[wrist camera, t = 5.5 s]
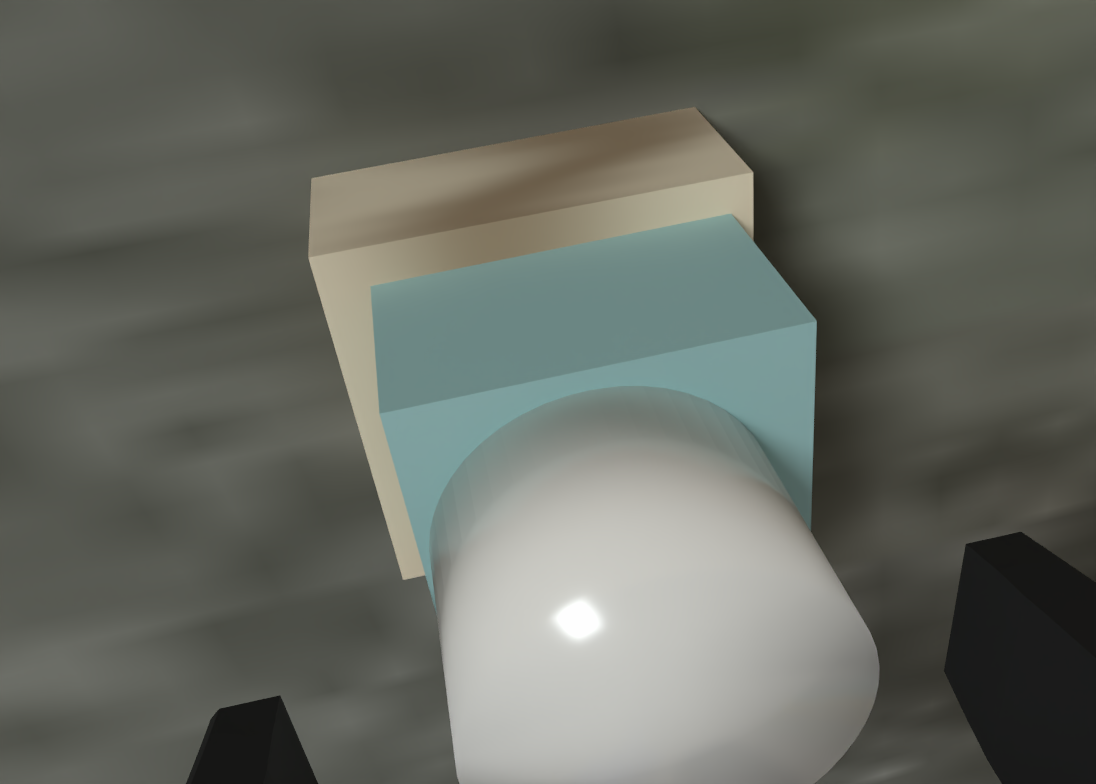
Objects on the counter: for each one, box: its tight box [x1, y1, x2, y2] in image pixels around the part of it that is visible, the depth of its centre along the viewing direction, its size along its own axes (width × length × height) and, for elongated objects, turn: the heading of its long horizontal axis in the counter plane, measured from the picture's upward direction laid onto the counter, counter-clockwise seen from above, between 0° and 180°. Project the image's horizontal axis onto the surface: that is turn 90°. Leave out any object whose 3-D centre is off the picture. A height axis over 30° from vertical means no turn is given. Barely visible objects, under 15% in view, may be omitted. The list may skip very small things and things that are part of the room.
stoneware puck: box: [429, 386, 880, 784], centre depth 11 cm, size 4×4×3 cm
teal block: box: [370, 214, 817, 614], centre depth 14 cm, size 5×5×3 cm
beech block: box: [308, 107, 754, 580], centre depth 16 cm, size 6×6×3 cm
